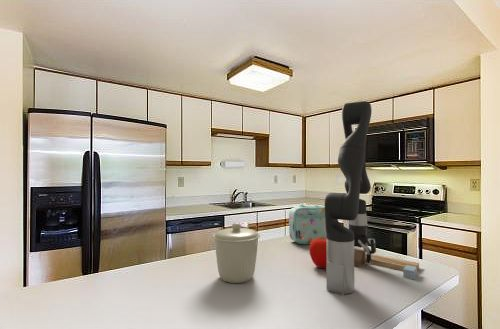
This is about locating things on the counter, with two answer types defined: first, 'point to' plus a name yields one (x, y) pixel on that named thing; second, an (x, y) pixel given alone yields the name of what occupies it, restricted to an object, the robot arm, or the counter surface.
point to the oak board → (391, 262)
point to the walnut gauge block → (359, 257)
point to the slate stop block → (410, 272)
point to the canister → (236, 253)
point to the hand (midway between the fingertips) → (358, 260)
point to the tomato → (319, 252)
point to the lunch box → (307, 223)
